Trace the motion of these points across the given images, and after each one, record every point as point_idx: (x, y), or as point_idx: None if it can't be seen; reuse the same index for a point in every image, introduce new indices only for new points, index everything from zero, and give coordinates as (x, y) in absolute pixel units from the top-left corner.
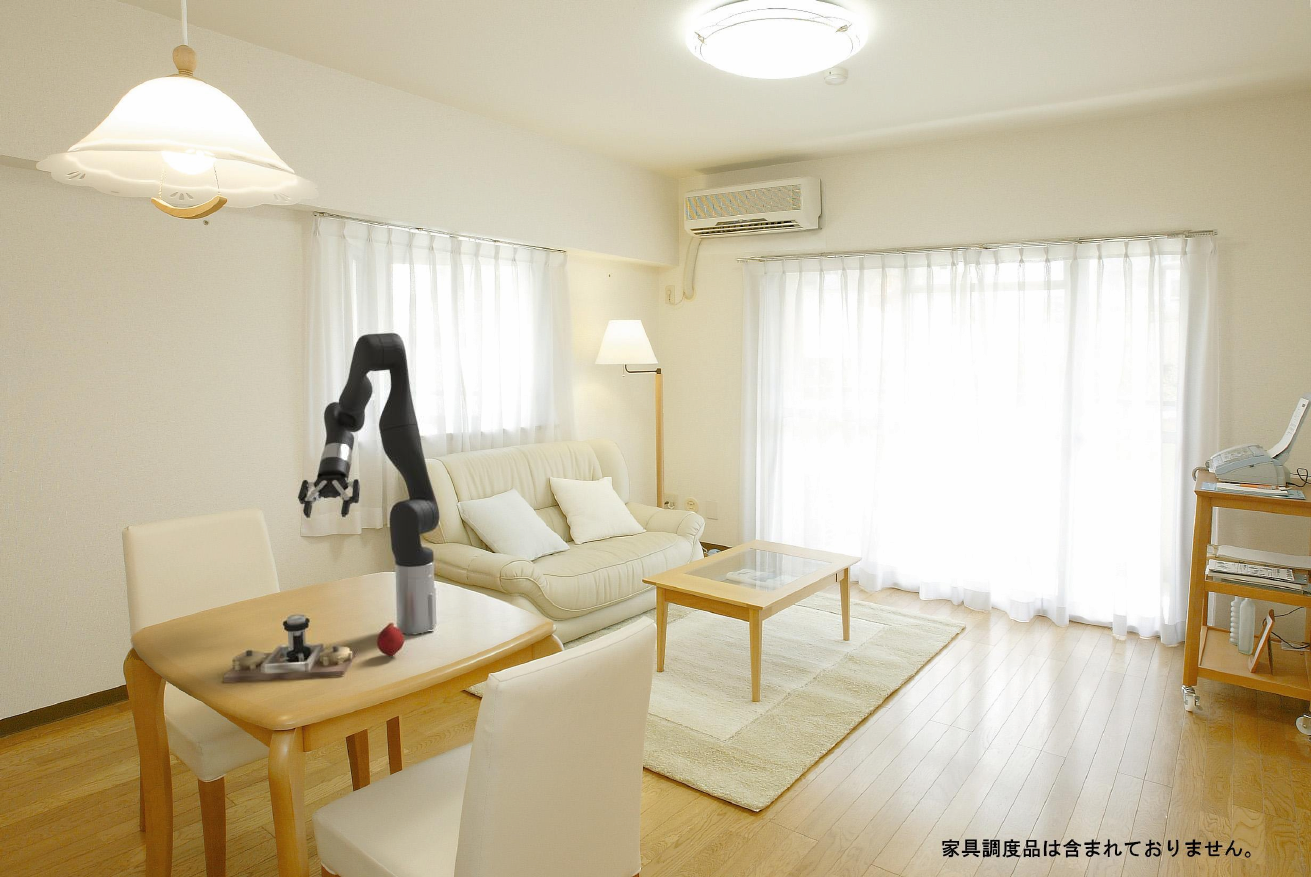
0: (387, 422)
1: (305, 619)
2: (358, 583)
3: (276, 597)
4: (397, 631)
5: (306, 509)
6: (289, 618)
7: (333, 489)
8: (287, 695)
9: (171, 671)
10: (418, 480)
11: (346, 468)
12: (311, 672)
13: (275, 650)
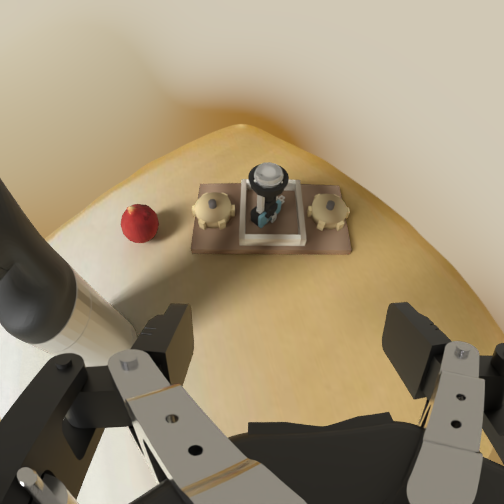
0: None
1: (254, 176)
2: None
3: None
4: (125, 210)
5: (413, 311)
6: (277, 167)
7: (275, 461)
8: (252, 156)
9: (415, 229)
10: None
11: None
12: (237, 183)
13: (302, 222)
